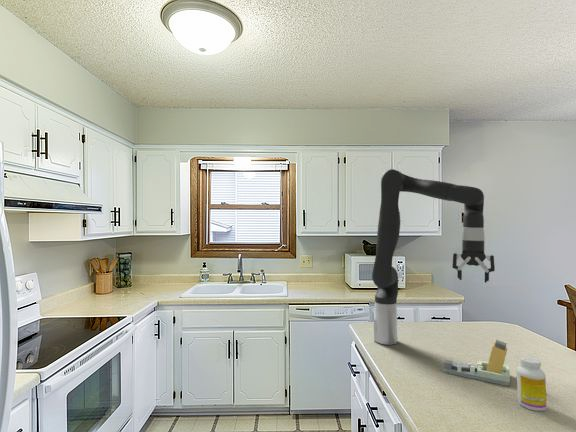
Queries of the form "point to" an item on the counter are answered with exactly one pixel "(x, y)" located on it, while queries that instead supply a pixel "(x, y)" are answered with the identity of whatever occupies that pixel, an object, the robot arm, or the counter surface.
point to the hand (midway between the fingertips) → (473, 281)
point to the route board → (477, 372)
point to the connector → (497, 357)
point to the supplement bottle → (531, 384)
